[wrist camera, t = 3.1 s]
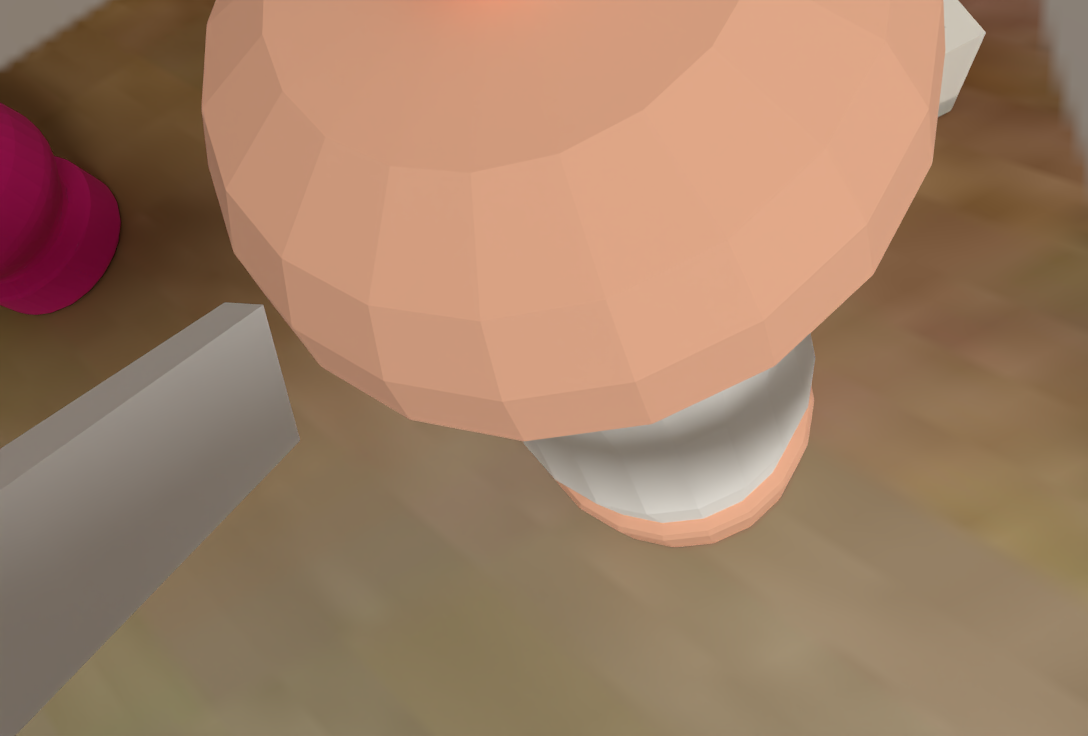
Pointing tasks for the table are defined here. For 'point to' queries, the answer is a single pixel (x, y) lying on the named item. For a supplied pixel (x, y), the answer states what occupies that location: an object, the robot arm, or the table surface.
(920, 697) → the table surface
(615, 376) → the pepper shaker
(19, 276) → the pepper mill
